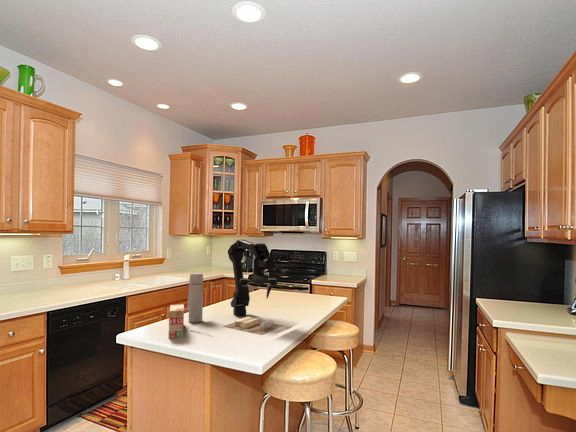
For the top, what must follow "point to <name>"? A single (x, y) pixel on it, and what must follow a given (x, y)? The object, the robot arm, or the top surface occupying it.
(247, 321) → the birch plate
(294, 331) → the top surface
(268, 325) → the bench dog
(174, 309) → the stack of blocks
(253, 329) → the bench board
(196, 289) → the water bottle
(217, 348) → the top surface
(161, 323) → the top surface
